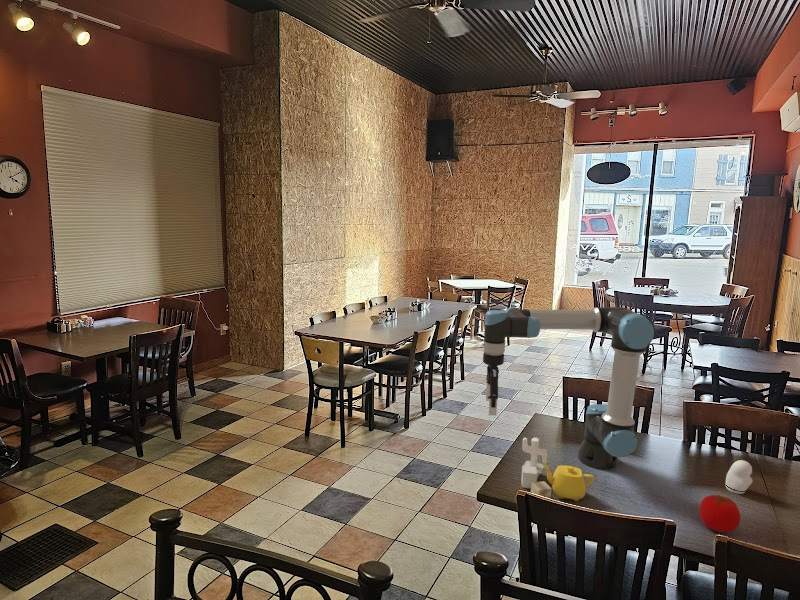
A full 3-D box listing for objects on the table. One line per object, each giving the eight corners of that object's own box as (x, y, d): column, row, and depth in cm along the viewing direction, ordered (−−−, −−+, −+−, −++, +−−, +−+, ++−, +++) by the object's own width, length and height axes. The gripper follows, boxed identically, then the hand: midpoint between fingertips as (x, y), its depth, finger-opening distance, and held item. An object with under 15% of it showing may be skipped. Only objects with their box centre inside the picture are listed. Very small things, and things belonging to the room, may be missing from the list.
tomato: (700, 533, 169) (705, 503, 167) (694, 513, 180) (698, 484, 178) (741, 542, 165) (746, 512, 163) (732, 520, 176) (737, 492, 174)
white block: (534, 482, 198) (536, 467, 196) (535, 489, 193) (537, 474, 192) (521, 480, 198) (522, 465, 197) (522, 487, 194) (523, 472, 192)
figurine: (543, 482, 197) (546, 445, 194) (518, 476, 201) (520, 439, 198) (547, 474, 203) (550, 438, 200) (523, 468, 207) (525, 432, 205)
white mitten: (741, 497, 190) (746, 466, 188) (720, 487, 197) (725, 457, 195) (752, 492, 194) (757, 462, 191) (731, 482, 200) (736, 453, 198)
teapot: (540, 498, 187) (542, 470, 185) (540, 482, 197) (542, 456, 195) (593, 506, 182) (596, 478, 180) (590, 490, 193) (593, 463, 191)
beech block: (542, 493, 190) (544, 481, 189) (550, 501, 185) (551, 488, 184) (530, 495, 188) (531, 482, 187) (537, 503, 184) (538, 490, 183)
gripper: (481, 343, 204) (478, 394, 209) (485, 362, 180) (482, 420, 184) (500, 343, 204) (497, 395, 208) (508, 363, 179) (504, 422, 183)
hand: (490, 407), depth 196 cm, fingers open, 13 cm apart
